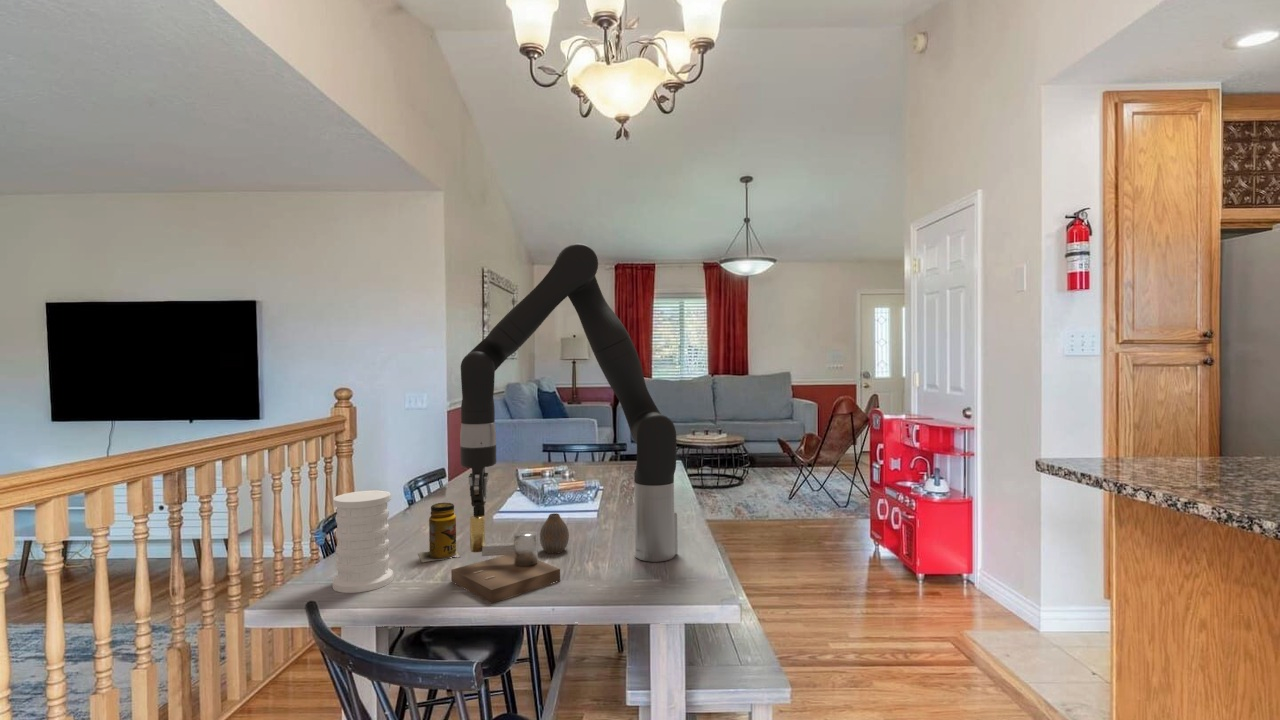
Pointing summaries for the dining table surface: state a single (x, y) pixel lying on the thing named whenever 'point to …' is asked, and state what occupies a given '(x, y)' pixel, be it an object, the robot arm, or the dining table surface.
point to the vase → (554, 534)
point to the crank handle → (520, 548)
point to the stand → (503, 577)
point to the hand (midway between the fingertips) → (479, 523)
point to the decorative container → (362, 541)
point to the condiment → (441, 533)
